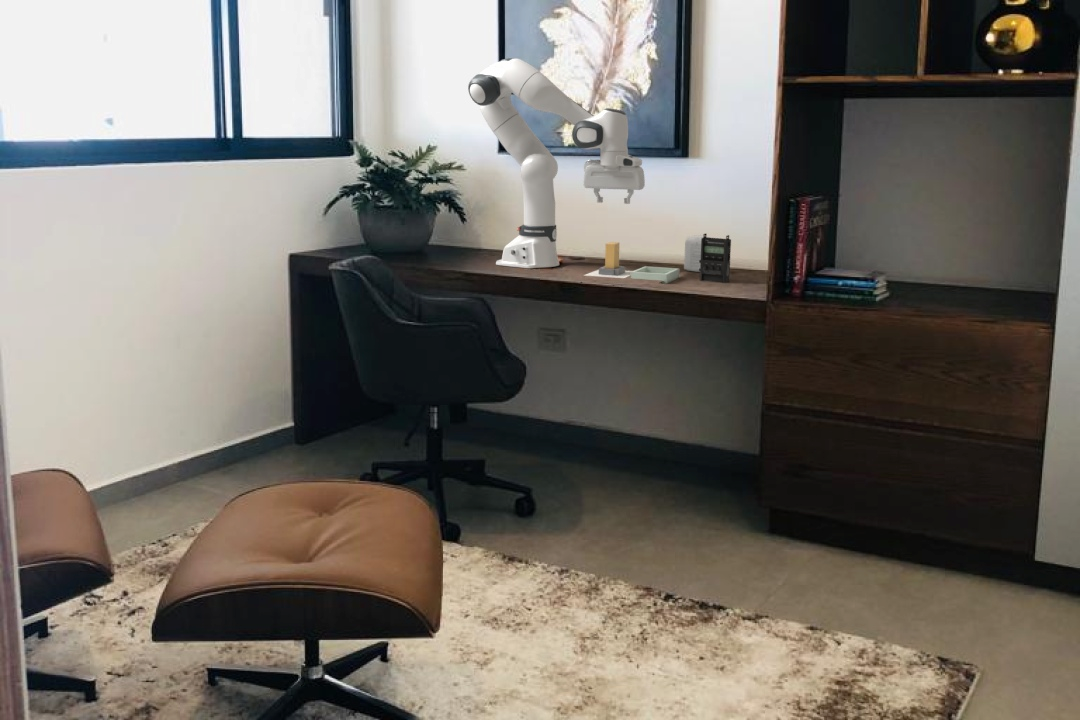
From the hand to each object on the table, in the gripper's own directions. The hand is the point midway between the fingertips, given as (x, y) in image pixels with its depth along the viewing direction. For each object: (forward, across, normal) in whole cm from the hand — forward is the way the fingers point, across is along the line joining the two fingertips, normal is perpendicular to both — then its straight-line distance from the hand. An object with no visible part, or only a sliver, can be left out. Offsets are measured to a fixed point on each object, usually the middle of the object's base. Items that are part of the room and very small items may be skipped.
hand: (613, 203), depth 361 cm
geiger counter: (+24, +33, +5) cm, 41 cm away
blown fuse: (+23, 0, 0) cm, 23 cm away
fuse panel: (+24, 0, 0) cm, 24 cm away
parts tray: (+24, +15, 0) cm, 28 cm away
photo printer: (+24, +23, +23) cm, 41 cm away
